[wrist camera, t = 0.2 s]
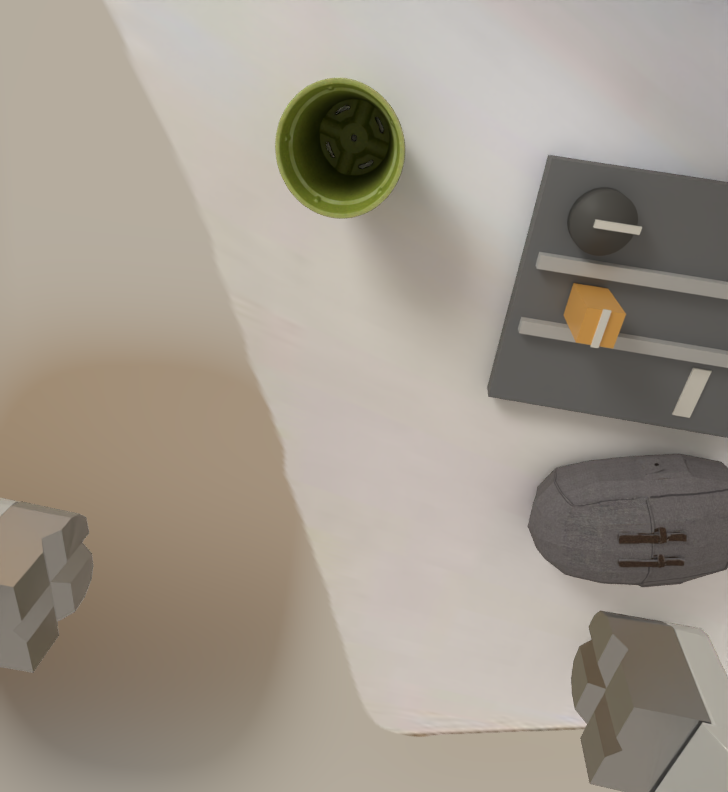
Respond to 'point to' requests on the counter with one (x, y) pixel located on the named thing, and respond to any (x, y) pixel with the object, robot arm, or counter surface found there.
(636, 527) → the small grey backpack
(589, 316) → the fader knob
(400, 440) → the counter surface
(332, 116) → the plant pot
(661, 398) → the console board
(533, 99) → the counter surface
